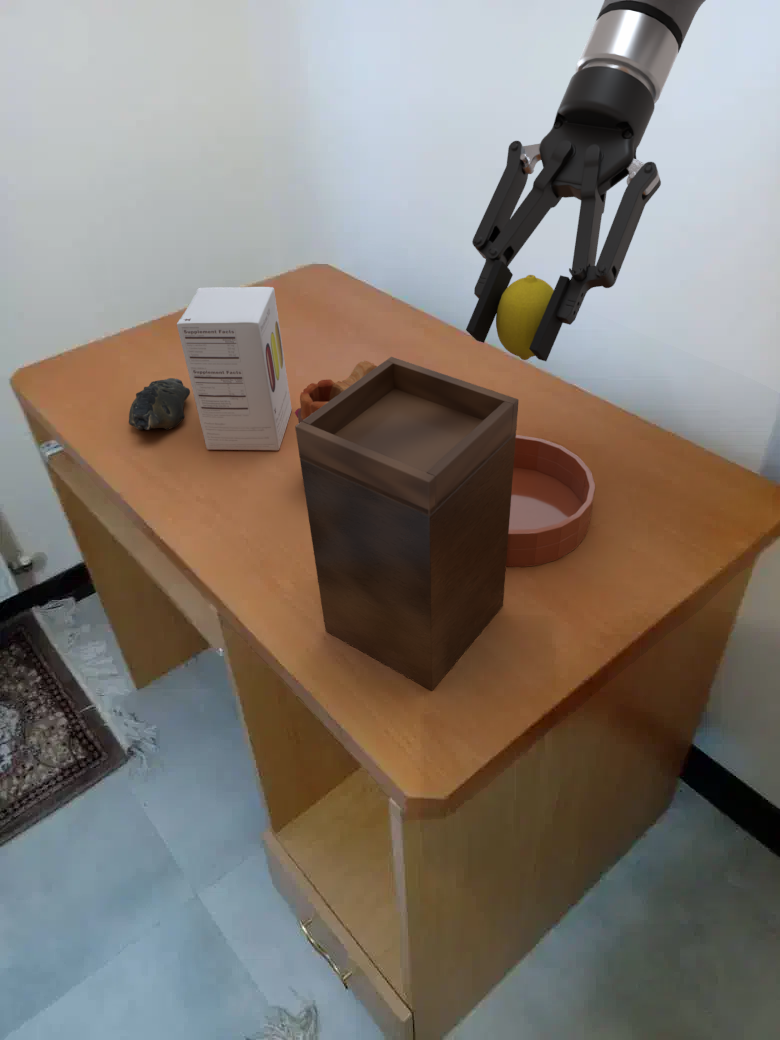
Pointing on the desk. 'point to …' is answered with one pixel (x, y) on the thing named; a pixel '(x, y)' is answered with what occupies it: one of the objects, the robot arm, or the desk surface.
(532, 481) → the bowl
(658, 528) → the desk surface
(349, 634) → the stand
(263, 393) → the supplement box
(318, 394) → the mug
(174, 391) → the stone
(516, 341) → the lemon
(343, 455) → the tray
